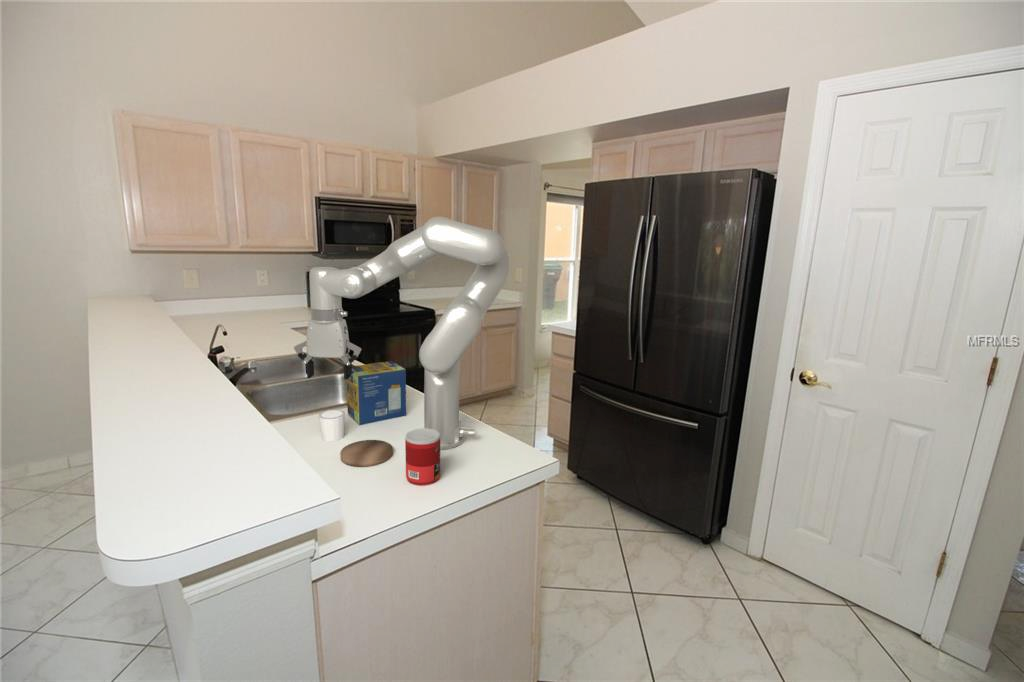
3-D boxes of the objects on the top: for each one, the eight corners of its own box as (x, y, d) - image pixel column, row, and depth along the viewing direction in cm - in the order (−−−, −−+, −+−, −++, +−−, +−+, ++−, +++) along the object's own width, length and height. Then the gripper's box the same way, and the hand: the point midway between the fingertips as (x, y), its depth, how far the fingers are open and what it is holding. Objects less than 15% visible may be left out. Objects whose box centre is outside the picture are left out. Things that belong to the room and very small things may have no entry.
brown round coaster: (397, 444, 130) (397, 440, 129) (386, 467, 117) (386, 463, 117) (349, 443, 129) (349, 439, 129) (333, 466, 116) (333, 462, 116)
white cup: (321, 444, 128) (319, 420, 126) (318, 434, 134) (317, 411, 132) (347, 440, 131) (347, 416, 129) (344, 430, 137) (343, 407, 135)
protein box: (346, 414, 149) (344, 366, 145) (393, 405, 158) (392, 360, 154) (358, 426, 140) (356, 375, 137) (407, 415, 150) (406, 368, 146)
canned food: (442, 484, 110) (442, 440, 108) (407, 488, 108) (406, 443, 106) (437, 468, 118) (437, 426, 115) (404, 471, 115) (404, 429, 113)
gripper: (364, 313, 128) (365, 374, 132) (298, 311, 128) (301, 372, 132) (356, 319, 121) (357, 383, 125) (286, 315, 120) (290, 380, 124)
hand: (329, 377), depth 128 cm, fingers open, 9 cm apart
